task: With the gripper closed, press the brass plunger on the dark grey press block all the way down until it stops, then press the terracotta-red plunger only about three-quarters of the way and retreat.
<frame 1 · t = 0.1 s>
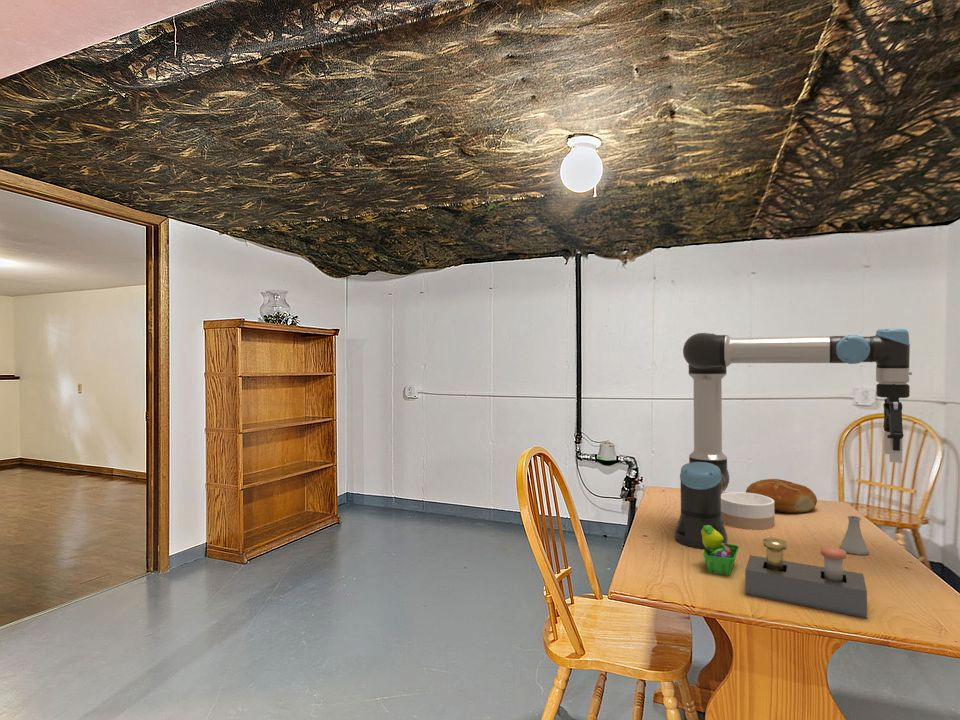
hand: (892, 458, 155), 28 cm above the table, fingers open, 13 cm apart
fruit basket: (718, 568, 149), on the table
press block: (803, 596, 130), on the table
red plunger: (833, 566, 127), point 8 cm above the table, slide at 0.0 cm
brass plunger: (774, 557, 134), point 8 cm above the table, slide at 0.0 cm
flask: (854, 551, 160), on the table
bread: (780, 508, 206), on the table
bowl: (746, 522, 188), on the table
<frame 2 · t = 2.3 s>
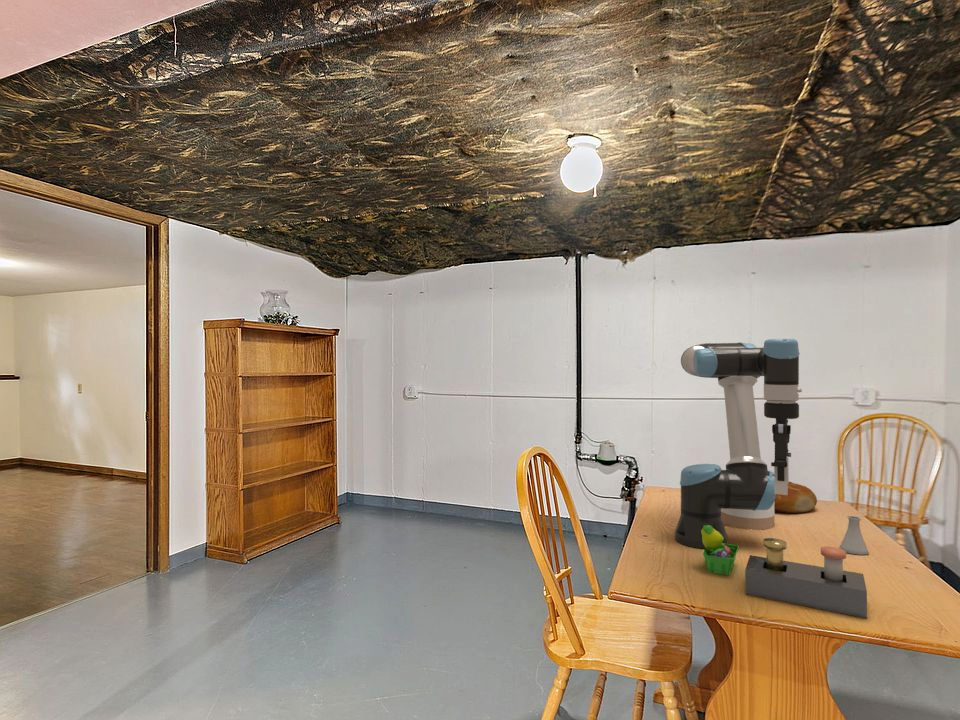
hand: (781, 488, 134), 25 cm above the table, fingers open, 13 cm apart
nothing on the table moved.
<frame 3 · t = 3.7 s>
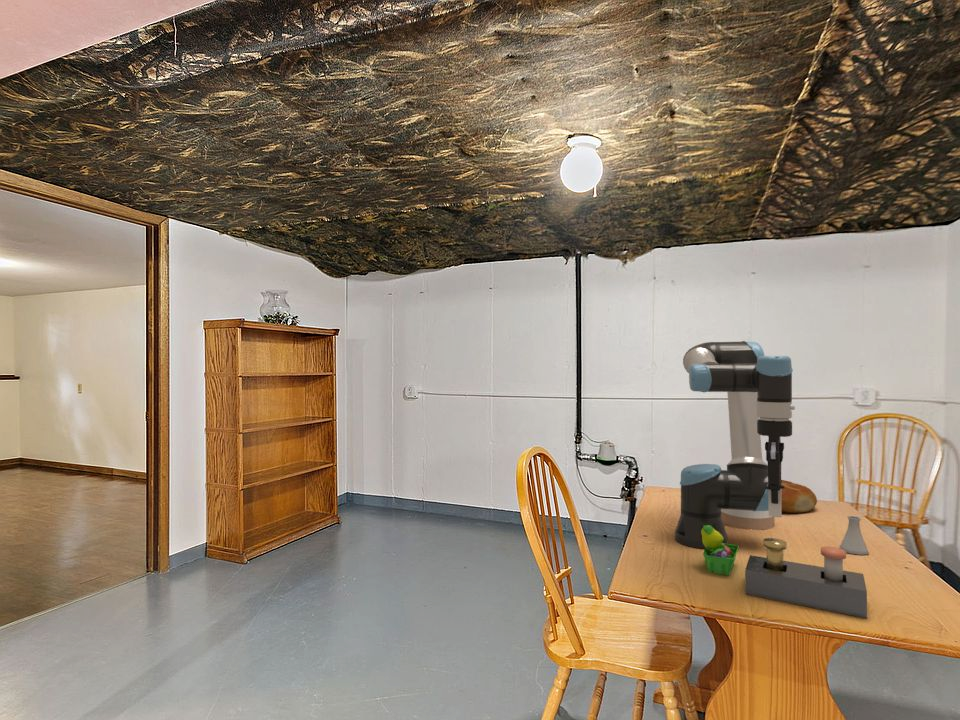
hand: (775, 515, 133), 19 cm above the table, fingers closed
nothing on the table moved.
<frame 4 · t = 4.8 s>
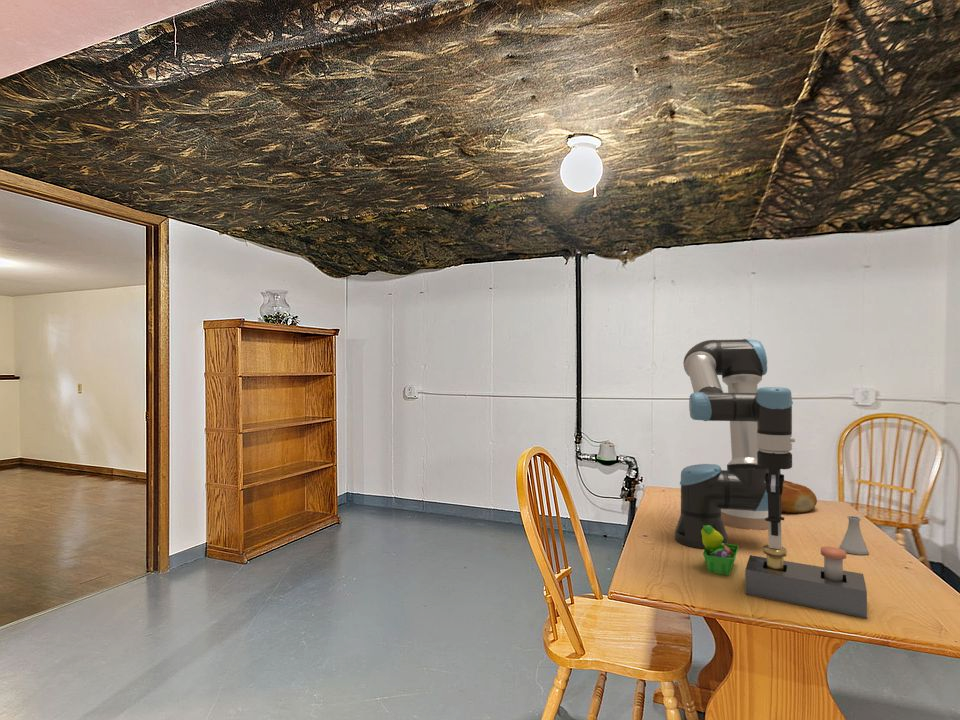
hand: (775, 547, 133), 11 cm above the table, fingers closed
brass plunger: (774, 563, 134), point 7 cm above the table, slide at 1.7 cm, touching gripper
everything else where it was.
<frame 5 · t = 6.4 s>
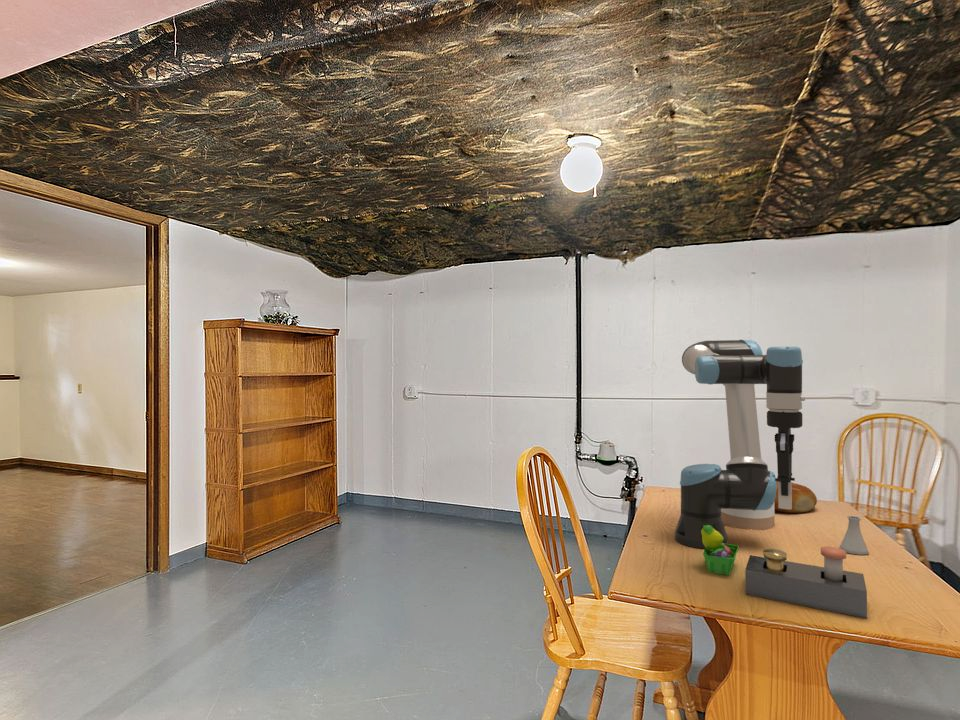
hand: (785, 508, 132), 21 cm above the table, fingers closed
brass plunger: (775, 568, 134), point 6 cm above the table, slide at 2.7 cm
everything else where it was.
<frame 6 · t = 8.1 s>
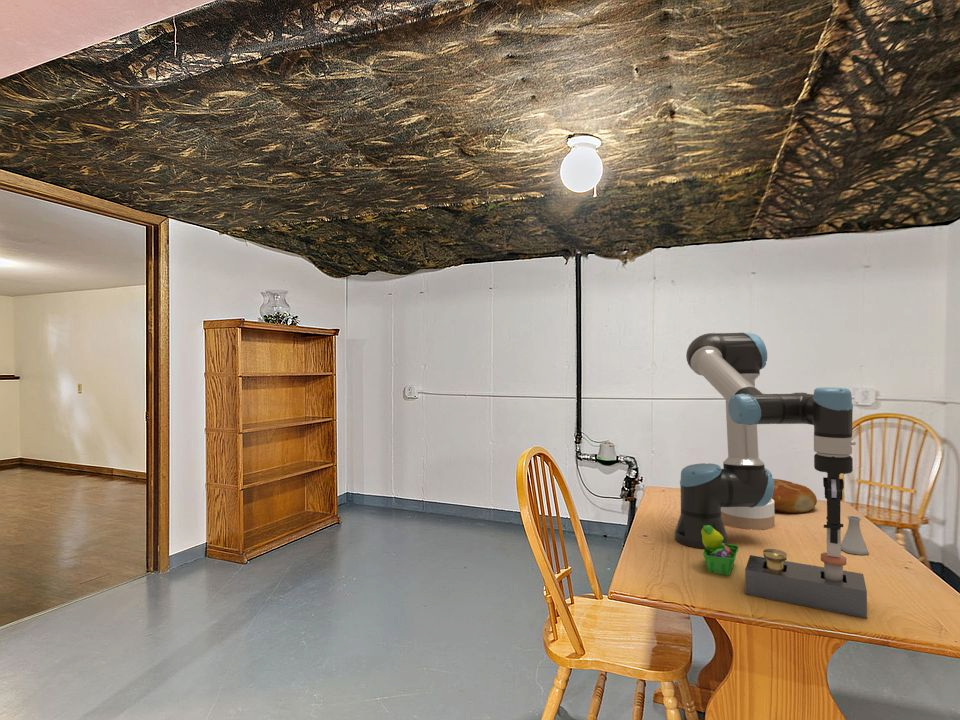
hand: (833, 555, 127), 11 cm above the table, fingers closed
red plunger: (833, 572, 127), point 7 cm above the table, slide at 1.5 cm, touching gripper
everything else where it was.
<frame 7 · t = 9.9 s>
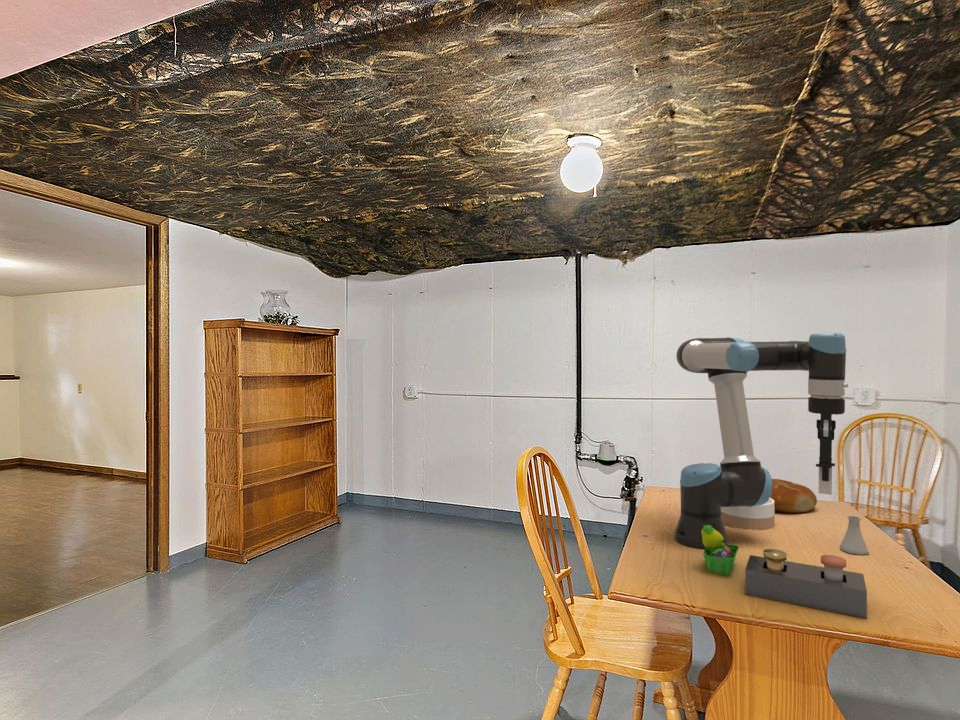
hand: (825, 493, 133), 24 cm above the table, fingers closed
red plunger: (833, 575, 127), point 6 cm above the table, slide at 2.0 cm
everything else where it was.
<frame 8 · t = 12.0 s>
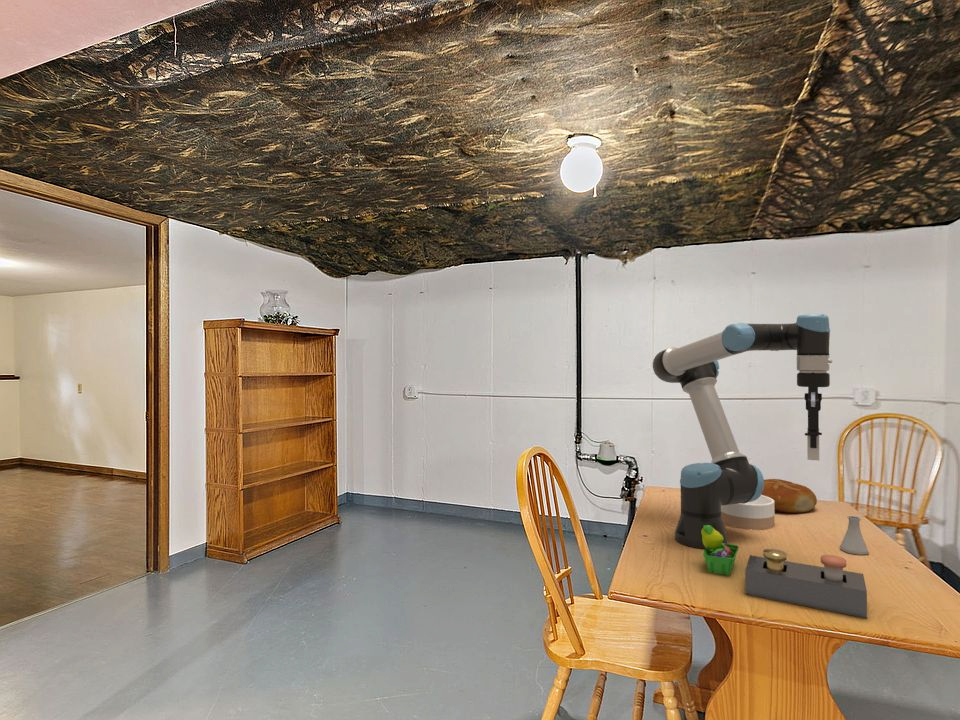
hand: (813, 459, 147), 29 cm above the table, fingers closed
nothing on the table moved.
at the end: brass plunger slide at 2.7 cm; red plunger slide at 2.0 cm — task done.
